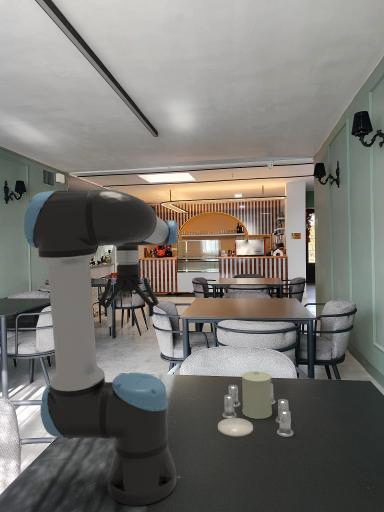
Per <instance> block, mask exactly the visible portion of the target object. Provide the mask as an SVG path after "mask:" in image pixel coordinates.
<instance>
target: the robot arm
mask: <svg viewBox="0 0 384 512" xmlns="http://www.w3.org/2000/svg"><path fill="white" fill-rule="evenodd" d="M23 232H24V237H25V239H26V242H27V243H28V245H30V247H32V248H34V249H37V250H38V252H37V253H38V258H39V260H41V261H43V262H44V263H45V264H46V266H47V274H48V275H47V277H48V287H49V298H50V299H49V300H50V311H51V312H50V313H51V322H52V323H51V324H52V334H53V347H54V359H55V371H56V372H55V373H54V375H52V377H51V378H50V379H49V384H47V386H45V388H44V390H43V393H42V395H41V404H40V417H41V423H42V426H43V428H44V430H45V431H46V432H47V433H48V434H49V435H50V436H52V437H54V438H63V439H67V440H71V439H108V440H109V439H111V440H112V439H113V440H114V454H113V457H112V460H111V464H110V467H109V470H108V475H107V492H108V494H109V496H110V497H111V498H112V500H114V501H116V502H118V503H120V504H123V505H127V506H145V505H146V504H147V505H151V504H154V503H157V502H160V501H161V500H164V499H165V498H167V497H168V496H169V495H170V494H171V493H172V492H173V491H174V489H175V488H176V485H177V469H176V466H175V465H176V464H175V463H174V459H173V457H172V454H171V452H170V448H169V444H168V443H169V442H168V439H169V437H168V405H169V403H168V399H167V398H168V397H167V387H166V386H165V384H164V382H163V381H162V379H160V378H158V377H156V376H154V375H151V374H148V373H147V374H146V373H142V372H141V373H140V372H130V373H121V374H118V375H117V376H115V378H114V379H113V381H112V382H111V381H106V378H105V371H104V370H103V369H102V368H100V367H99V366H98V364H97V363H98V362H97V348H96V347H97V346H96V334H95V317H94V306H93V305H94V302H93V289H92V288H93V287H92V274H91V261H92V259H93V258H95V256H96V255H97V247H101V246H102V247H103V246H113V247H115V249H116V250H115V252H116V254H115V256H116V257H115V258H116V259H115V260H116V264H117V265H116V278H114V277H110V278H107V281H106V282H107V283H106V286H105V288H104V291H103V293H102V296H101V297H100V300H99V302H98V306H101V307H103V308H104V317H105V318H107V321H106V322H107V328H111V327H113V309H112V308H113V306H111V304H112V303H113V302H114V300H115V299H116V298H117V297H118V296H119V294H120V293H121V292H136V293H137V295H138V296H139V297H140V298H141V299H142V300H143V302H144V303H145V304H146V305H147V307H146V327H147V328H150V327H151V326H152V322H151V321H152V317H153V316H154V307H155V306H158V305H159V304H160V302H159V300H158V297H157V296H156V294H155V292H154V290H153V288H152V286H151V285H150V279H149V277H144V278H140V265H139V262H140V252H139V250H140V249H139V246H169V245H170V246H172V245H176V244H177V243H178V240H179V228H178V223H177V221H176V220H168V219H166V220H163V219H161V218H160V217H159V216H157V214H156V212H155V210H154V208H153V207H152V206H151V205H150V204H149V203H148V202H146V201H145V200H143V199H141V198H139V197H137V196H134V195H132V194H129V193H127V192H124V191H119V190H113V189H109V188H101V189H84V190H83V189H79V190H78V189H75V190H73V189H72V190H71V189H70V190H67V189H66V190H65V189H64V190H59V189H57V190H51V191H50V190H49V191H44V192H43V191H42V192H38V193H37V194H35V195H34V196H33V197H32V198H31V199H30V201H29V203H28V204H27V206H26V209H25V212H24V217H23ZM140 283H141V284H142V285H144V288H145V289H146V291H147V293H148V295H147V294H146V293H145V292H144V291H143V290H142V288H141V287H140ZM115 284H116V285H117V287H116V289H115V290H114V292H113V293H112V294H111V295H110V297H109V294H110V293H111V290H112V288H113V285H115ZM148 296H149V297H148ZM108 297H109V298H108Z"/></svg>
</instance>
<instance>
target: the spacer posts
mask: <svg viewBox="0 0 384 512" xmlns="http://www.w3.org/2000/svg"><path fill="white" fill-rule="evenodd" d="M238 387H239V386H238V385H236V384H230V385H228V394H225V395H224V397H223V398H224V399H223V400H224V412H222V417H223V418H224V419H228V418H238V416H237V415H238V414H237V412H235V408H238V407H240V406H241V402H240V401H239V388H238ZM275 404H276V400H275V398H274V384H273V383H272V382H271V406H272V405H275ZM291 414H292V413H291V411H290V410H289V400H288V399H285V398H279V399H278V400H277V417H276V418H275V422H276V423H277V424H279V428H278V429H277V430H276V432H277V435H278V436H281V437H284V438H290V437H292V436H293V435H294V430H292V427H291V426H292V417H291Z"/></svg>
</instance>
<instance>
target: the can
mask: <svg viewBox="0 0 384 512" xmlns="http://www.w3.org/2000/svg"><path fill="white" fill-rule="evenodd" d="M241 382H242V383H241V386H242V387H241V389H242V414H243V415H244V416H245V417H247V418H250V419H255V420H259V419H260V420H262V419H263V420H264V419H267V418H269V417H271V416H272V415H273V409H272V405H271V383H272V375H271V374H270V373H268V372H266V371H265V372H264V371H257V370H256V371H255V370H253V371H246V372H243V374H241Z"/></svg>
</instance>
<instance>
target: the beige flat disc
mask: <svg viewBox="0 0 384 512" xmlns="http://www.w3.org/2000/svg"><path fill="white" fill-rule="evenodd" d="M217 430H218V431H219V432H220V433H221V434H223V435H226V436H230V437H236V438H237V437H244V436H248V435H249V434H251V433H252V432H253V431H254V425H253V423H252V422H250V421H249V420H247V419H244V418H238V417H236V418H228V419H227V418H224V419H222V420H221V421H219V422H218V424H217Z"/></svg>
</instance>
